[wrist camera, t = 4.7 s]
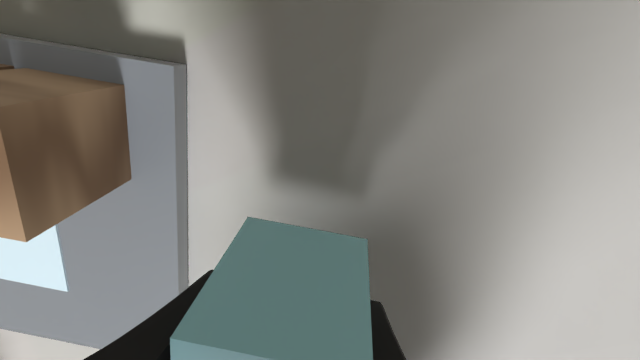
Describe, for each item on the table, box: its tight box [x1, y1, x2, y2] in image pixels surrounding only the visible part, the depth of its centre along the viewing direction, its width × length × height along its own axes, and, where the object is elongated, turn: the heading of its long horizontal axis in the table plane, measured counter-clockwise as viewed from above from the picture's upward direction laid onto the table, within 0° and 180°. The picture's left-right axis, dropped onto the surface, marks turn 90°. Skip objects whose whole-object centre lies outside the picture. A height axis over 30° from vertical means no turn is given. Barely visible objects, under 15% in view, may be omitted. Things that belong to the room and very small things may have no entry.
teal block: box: [170, 217, 373, 360], centre depth 9 cm, size 4×4×5 cm
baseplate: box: [0, 34, 188, 349], centre depth 16 cm, size 16×14×1 cm
